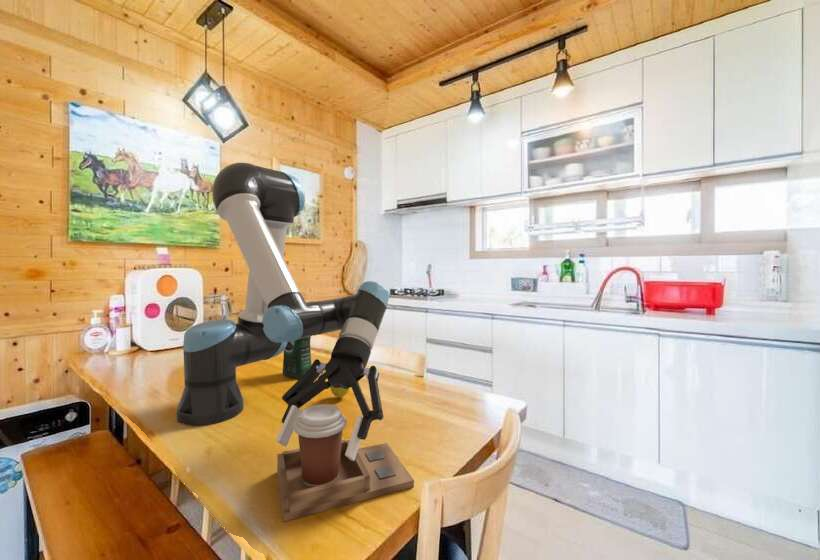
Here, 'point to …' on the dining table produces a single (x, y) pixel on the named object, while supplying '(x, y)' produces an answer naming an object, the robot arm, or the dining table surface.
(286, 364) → the coffee jar
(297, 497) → the wooden tray
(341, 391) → the lemon
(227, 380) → the robot arm
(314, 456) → the coffee cup
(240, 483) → the dining table surface
